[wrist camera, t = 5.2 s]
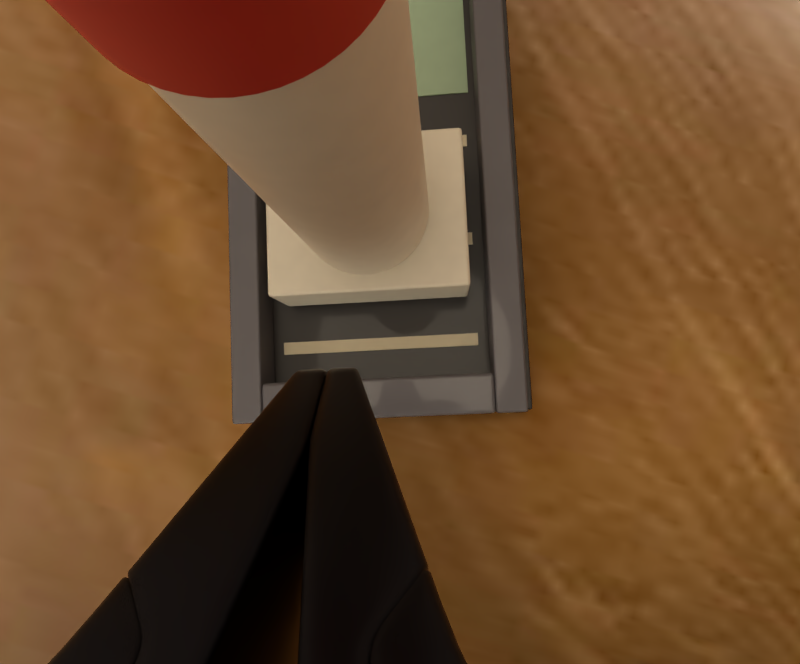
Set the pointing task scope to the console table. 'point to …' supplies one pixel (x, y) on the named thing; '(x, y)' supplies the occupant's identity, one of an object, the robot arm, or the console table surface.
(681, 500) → the console table surface
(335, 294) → the score marker
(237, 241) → the tray
